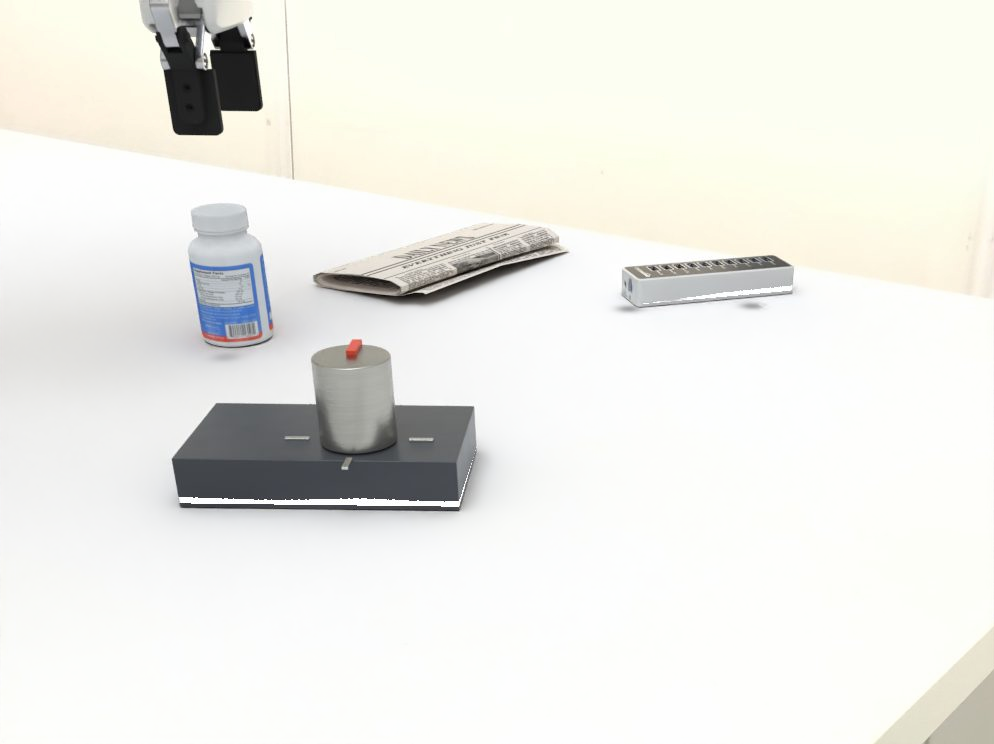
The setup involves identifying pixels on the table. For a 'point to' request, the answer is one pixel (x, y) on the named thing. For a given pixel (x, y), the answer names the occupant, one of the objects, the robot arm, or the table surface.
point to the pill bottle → (229, 277)
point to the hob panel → (323, 458)
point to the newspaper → (442, 259)
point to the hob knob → (354, 398)
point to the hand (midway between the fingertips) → (220, 121)
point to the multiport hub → (704, 279)
